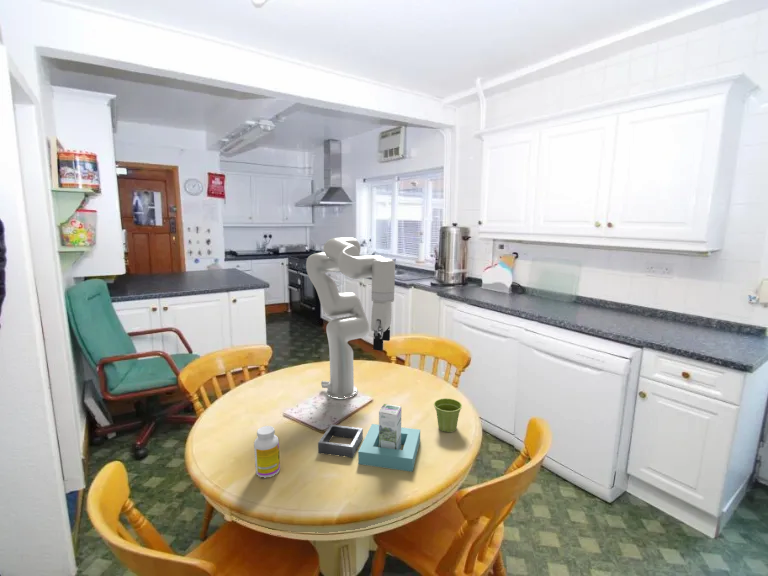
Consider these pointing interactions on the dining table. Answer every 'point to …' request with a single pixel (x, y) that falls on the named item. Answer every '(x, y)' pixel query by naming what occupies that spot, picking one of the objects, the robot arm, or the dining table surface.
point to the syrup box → (390, 427)
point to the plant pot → (447, 413)
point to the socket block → (390, 450)
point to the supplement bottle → (266, 452)
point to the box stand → (337, 448)
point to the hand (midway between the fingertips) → (381, 344)
